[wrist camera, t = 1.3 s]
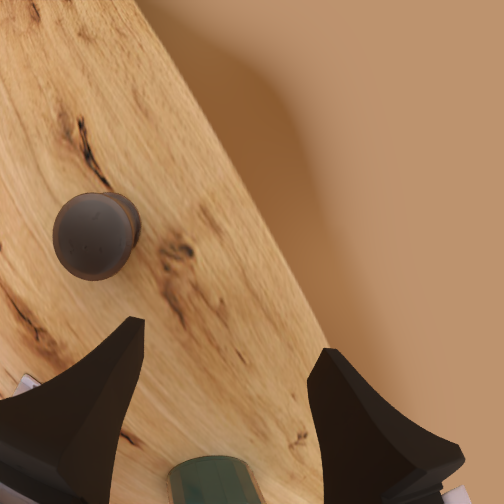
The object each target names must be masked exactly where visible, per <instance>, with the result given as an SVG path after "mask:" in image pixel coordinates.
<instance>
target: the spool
mask: <svg viewBox="0 0 504 504" xmlns="http://www.w3.org/2000/svg"><path fill="white" fill-rule="evenodd" d="M140 232H141V220H140V216H139V213H138V211H137V209H136V207H135V206H134V204H133V203H132V202H131V201H130V200H129V199H128V198H126V197H125V196H123V195H120V194H117V193H111V192H109V193H85V194H81V195H78V196H76V197H74V198H72V199H71V200H69V201H68V202H67V203H66V204H65V205H64V206H63V207H62V209H61V210H60V212H59V213H58V215H57V217H56V220H55V223H54V227H53V245H54V249H55V252H56V255H57V257H58V259H59V261H60V262H61V264H62V265H63V266H64V268H66V269H67V270H68V271H69V272H70V273H71V274H73V275H74V276H76V277H78V278H81V279H84V280H88V281H99V280H104V279H107V278H109V277H111V276H113V275H115V274H116V273H117V272H118V271H120V270H121V269H122V267H123V266H124V265H125V263H126V262H127V260H128V258H129V256H130V254H131V251H132V249H133V248H134V247H135V245H136V243H137V241H138V239H139V236H140Z"/></svg>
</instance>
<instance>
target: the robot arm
mask: <svg viewBox="0 0 504 504" xmlns="http://www.w3.org/2000/svg"><path fill="white" fill-rule="evenodd" d="M144 327H145V320H144V319H140V318H136V317H131V316H129V317H128V318H126V320H125V321H124V322H123V323H122V324H121V325H120V326H119V327H118V328H117V329H116V330H115V331H114V332H113V333H112V334H110V335H109V336H108V337H107V338H106V339H105V340H104V341H103V342H102V343H101V344H100V345H98V346H97V347H96V348H95V349H94V350H93V351H91V352H90V353H89V354H88V355H86V356H85V357H84V358H83V359H81V360H80V361H79V362H77V363H76V364H75V365H73V366H72V367H70V368H69V369H67V370H66V371H64V372H63V373H61V374H59V375H58V376H56V377H54V378H53V379H51V380H49V381H47V382H45V383H44V384H42V385H41V384H40V383H38V382H37V381H36V380H34V379H33V378H32V377H30V376H29V375H27V374H24V375H23V377H22V379H21V381H20V383H19V384H18V386H17V388H16V390H15V391H14V393H13V395H12V397H10V398H6V399H3V400H0V504H109V498H110V488H111V480H112V473H113V466H114V460H115V455H116V449H117V444H118V439H119V435H120V430H121V427H122V423H123V420H124V417H125V414H126V412H127V409H128V406H129V403H130V401H131V398H132V395H133V392H134V390H135V387H136V384H137V381H138V379H139V375H140V371H141V367H142V363H143V358H144ZM35 385H36V386H37V387H36V386H35ZM307 389H308V398H309V404H310V408H311V413H312V417H313V421H314V425H315V429H316V433H317V437H318V441H319V445H320V451H321V459H322V468H323V483H324V504H471V501H470V499H469V496H468V494H467V492H466V489H465V487H464V485H461V486H459V487H457V488H454V489H452V490H450V491H448V492H446V493H444V494H443V495H441V493H440V490H442V489H443V485H442V481H443V480H445V479H446V478H447V477H449V476H450V475H451V474H453V473H454V472H455V471H456V470H458V469H459V468H460V467H461V466H462V465H463V464H464V462H465V457H464V455H463V453H462V451H461V449H460V447H459V445H458V444H455V443H453V442H450V441H448V440H445V439H443V438H440V437H438V436H436V435H434V434H433V433H431V432H429V431H427V430H425V429H424V428H422V427H420V426H419V425H417V424H416V423H414V422H412V421H411V420H409V419H408V418H407V417H405V416H404V415H402V414H401V413H400V412H399V411H397V410H396V409H395V408H394V407H393V406H391V405H390V404H389V403H388V402H387V401H386V400H384V399H383V398H382V397H381V396H380V395H379V394H378V393H377V392H376V391H375V390H374V389H373V388H372V387H371V386H370V385H369V384H368V383H367V382H366V380H365V379H364V378H363V377H362V376H361V375H360V374H359V373H358V372H357V371H356V369H355V368H354V367H353V366H352V365H351V364H350V363H349V362H348V360H347V359H346V358H345V357H344V356H343V355H342V354H341V353H340V352H339V351H338V350H337V349H332V348H323V350H322V352H321V354H320V356H319V358H318V360H317V362H316V364H315V366H314V368H313V370H312V371H311V373H310V375H309V377H308V379H307Z"/></svg>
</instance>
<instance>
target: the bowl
mask: <svg viewBox="0 0 504 504" xmlns="http://www.w3.org/2000/svg"><path fill="white" fill-rule="evenodd" d="M167 492H168V499H169V504H266V501H265V499H264V497H263V495H262V492H261V490H260V488H259V486H258V483H257V481H256V479H255V476H254V474H253V472H252V470H251V469H250V467H249V466H248V464H246V463H245V462H243V461H242V460H239V459H237V458H233V457H228V456H206V457H200V458H195V459H191V460H188V461H186V462H183V463H181V464H179V465H177V466H176V467H175V468H173V469H172V470H171V471H170V473H169V474H168V476H167Z"/></svg>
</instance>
